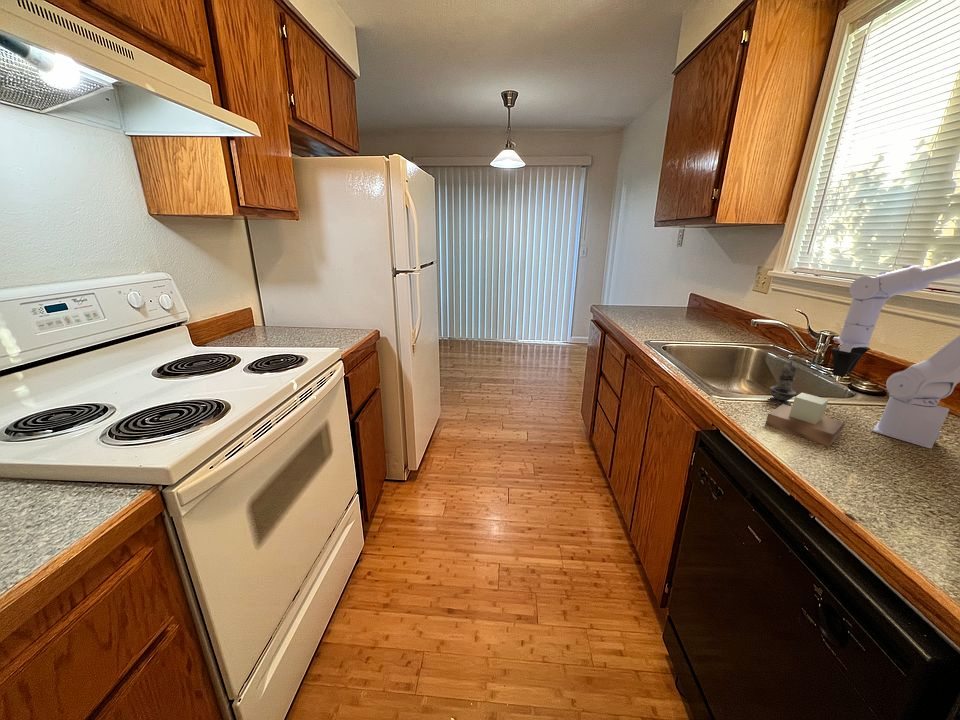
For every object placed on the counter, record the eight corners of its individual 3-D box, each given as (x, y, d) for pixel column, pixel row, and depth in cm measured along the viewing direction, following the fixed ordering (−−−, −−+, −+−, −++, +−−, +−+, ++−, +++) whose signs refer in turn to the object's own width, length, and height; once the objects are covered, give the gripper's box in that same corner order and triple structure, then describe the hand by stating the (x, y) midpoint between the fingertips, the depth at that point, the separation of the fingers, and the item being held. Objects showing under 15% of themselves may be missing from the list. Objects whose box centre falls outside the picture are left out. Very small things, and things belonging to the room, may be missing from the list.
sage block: (821, 419, 89) (828, 399, 88) (815, 424, 86) (822, 404, 85) (795, 411, 93) (801, 392, 91) (789, 416, 90) (795, 396, 89)
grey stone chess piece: (783, 398, 108) (795, 358, 105) (797, 407, 103) (811, 365, 99) (761, 397, 109) (773, 357, 105) (774, 405, 103) (787, 364, 100)
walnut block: (840, 434, 89) (844, 422, 88) (828, 446, 83) (833, 434, 82) (779, 414, 98) (782, 404, 97) (765, 424, 92) (768, 413, 91)
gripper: (846, 318, 105) (830, 364, 109) (831, 323, 96) (815, 373, 101) (881, 323, 99) (863, 371, 104) (869, 329, 91) (850, 382, 95)
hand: (842, 373), depth 102 cm, fingers open, 7 cm apart
